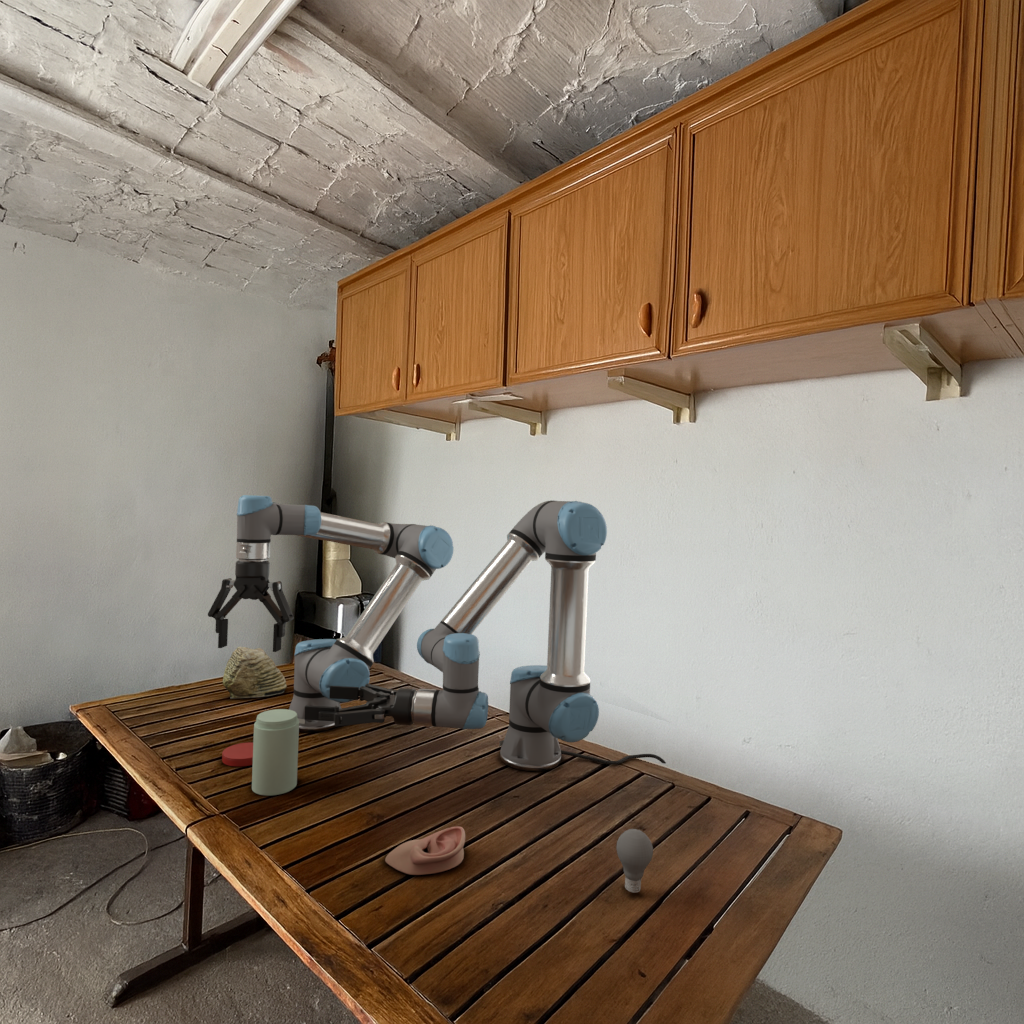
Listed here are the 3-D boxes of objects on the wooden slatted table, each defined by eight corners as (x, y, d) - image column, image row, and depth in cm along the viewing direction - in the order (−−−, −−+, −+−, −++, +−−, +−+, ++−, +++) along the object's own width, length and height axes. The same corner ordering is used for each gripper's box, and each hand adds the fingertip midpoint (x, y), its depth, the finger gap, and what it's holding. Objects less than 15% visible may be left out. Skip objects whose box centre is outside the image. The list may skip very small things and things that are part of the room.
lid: (212, 760, 149) (213, 752, 149) (248, 746, 158) (248, 739, 158) (241, 770, 145) (241, 762, 145) (276, 755, 153) (276, 748, 153)
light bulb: (610, 879, 108) (613, 822, 108) (644, 879, 109) (647, 822, 109) (619, 902, 102) (622, 840, 102) (655, 901, 103) (658, 840, 103)
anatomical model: (378, 846, 108) (403, 814, 120) (377, 869, 108) (402, 835, 120) (453, 858, 106) (471, 824, 117) (452, 882, 106) (470, 846, 117)
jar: (303, 778, 142) (306, 709, 142) (285, 797, 133) (288, 724, 133) (264, 774, 143) (267, 706, 143) (243, 793, 134) (246, 720, 133)
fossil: (218, 695, 195) (220, 647, 195) (278, 685, 208) (279, 640, 207) (228, 703, 189) (230, 653, 188) (289, 692, 201) (290, 645, 201)
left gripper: (193, 558, 148) (190, 648, 149) (296, 564, 146) (292, 656, 146) (212, 555, 156) (209, 641, 156) (309, 561, 153) (306, 648, 154)
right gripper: (399, 747, 122) (293, 741, 124) (427, 705, 147) (339, 700, 149) (399, 709, 122) (293, 703, 124) (428, 673, 147) (339, 668, 149)
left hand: (249, 648), depth 151 cm, fingers open, 13 cm apart
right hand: (318, 701), depth 137 cm, fingers open, 13 cm apart
